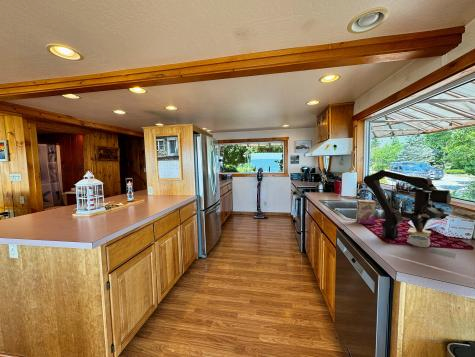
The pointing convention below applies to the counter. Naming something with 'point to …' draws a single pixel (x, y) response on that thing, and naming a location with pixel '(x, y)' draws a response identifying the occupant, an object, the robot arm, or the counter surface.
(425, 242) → the bowl
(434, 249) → the mat
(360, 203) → the candy bar box
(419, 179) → the robot arm
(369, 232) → the counter surface
